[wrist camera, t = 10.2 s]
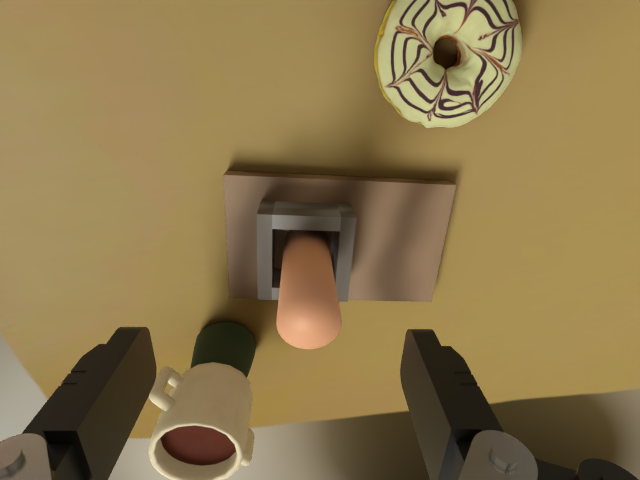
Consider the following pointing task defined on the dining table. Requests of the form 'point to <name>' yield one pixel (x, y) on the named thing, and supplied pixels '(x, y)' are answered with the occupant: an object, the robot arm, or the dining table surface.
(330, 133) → the dining table surface
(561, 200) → the dining table surface
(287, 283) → the peg
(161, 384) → the character mug
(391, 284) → the holder
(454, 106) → the decorated donut
